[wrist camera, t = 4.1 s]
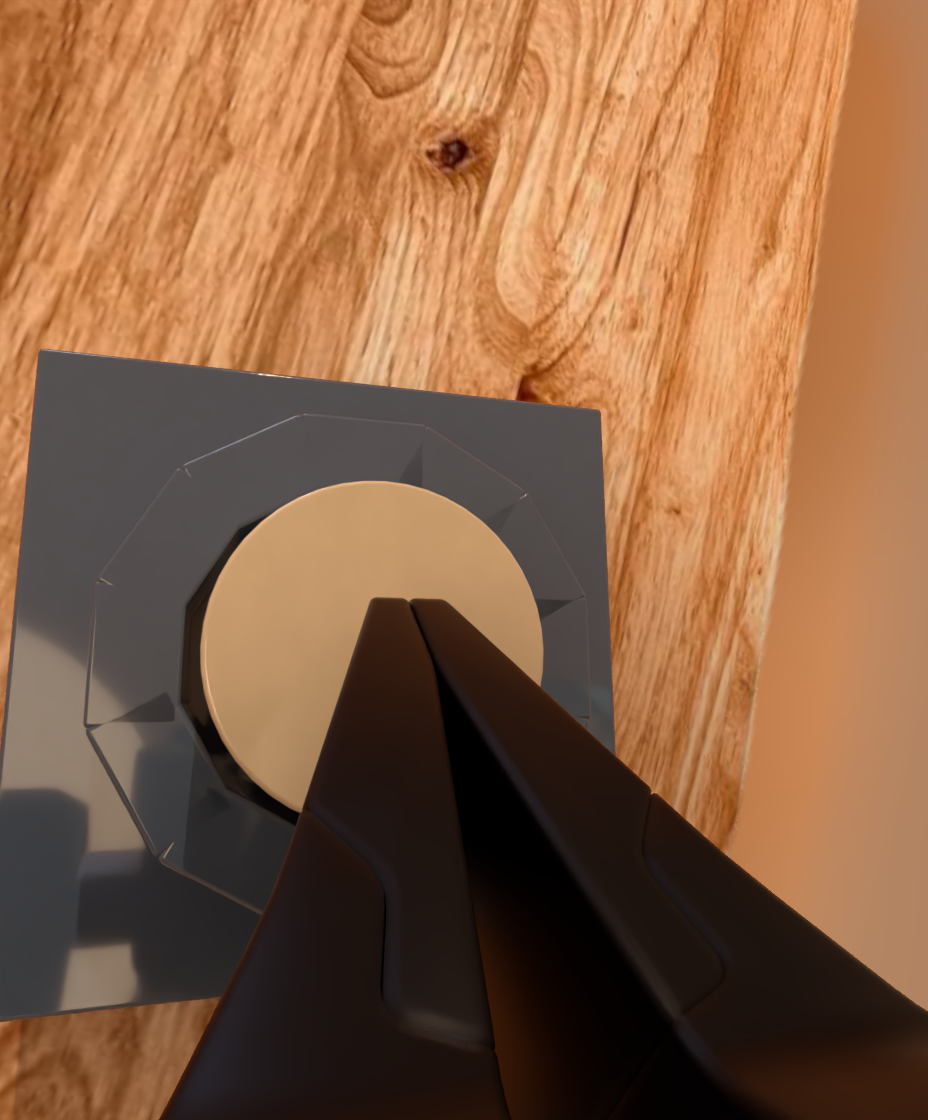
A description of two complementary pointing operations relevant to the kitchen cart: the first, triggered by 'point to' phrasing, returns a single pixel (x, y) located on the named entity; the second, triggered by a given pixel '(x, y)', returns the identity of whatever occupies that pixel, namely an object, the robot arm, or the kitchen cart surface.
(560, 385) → the kitchen cart surface
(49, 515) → the grey button base
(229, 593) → the tan push button
